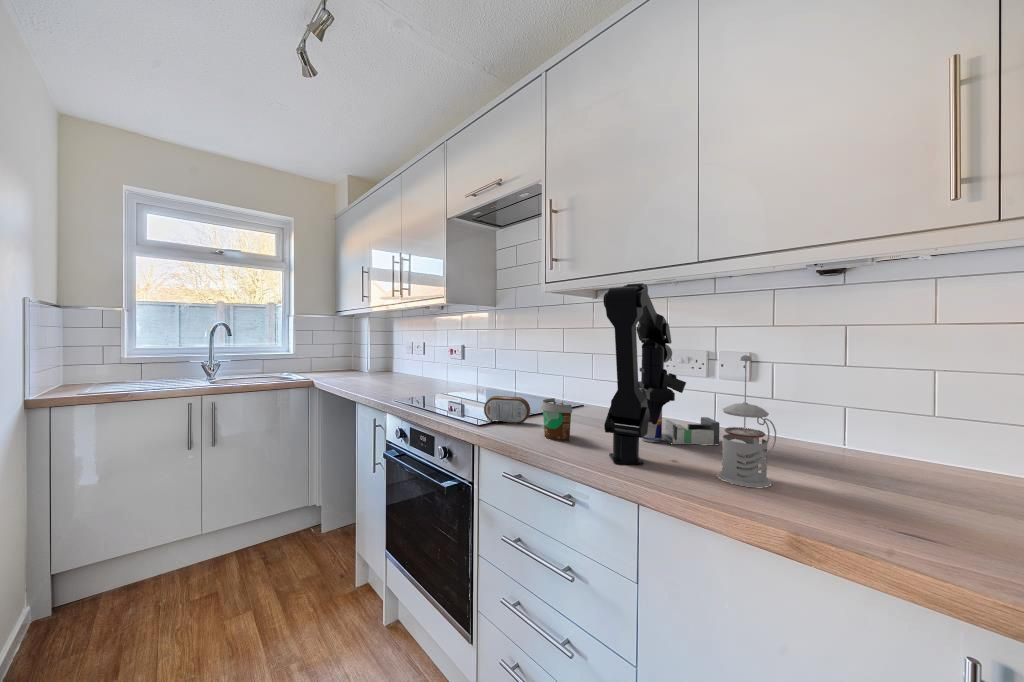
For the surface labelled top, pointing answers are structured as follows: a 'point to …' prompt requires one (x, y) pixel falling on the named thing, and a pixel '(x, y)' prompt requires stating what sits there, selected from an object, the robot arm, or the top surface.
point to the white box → (671, 426)
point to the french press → (745, 446)
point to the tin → (507, 409)
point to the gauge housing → (696, 433)
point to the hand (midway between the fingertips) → (651, 421)
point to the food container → (556, 420)
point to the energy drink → (654, 431)
